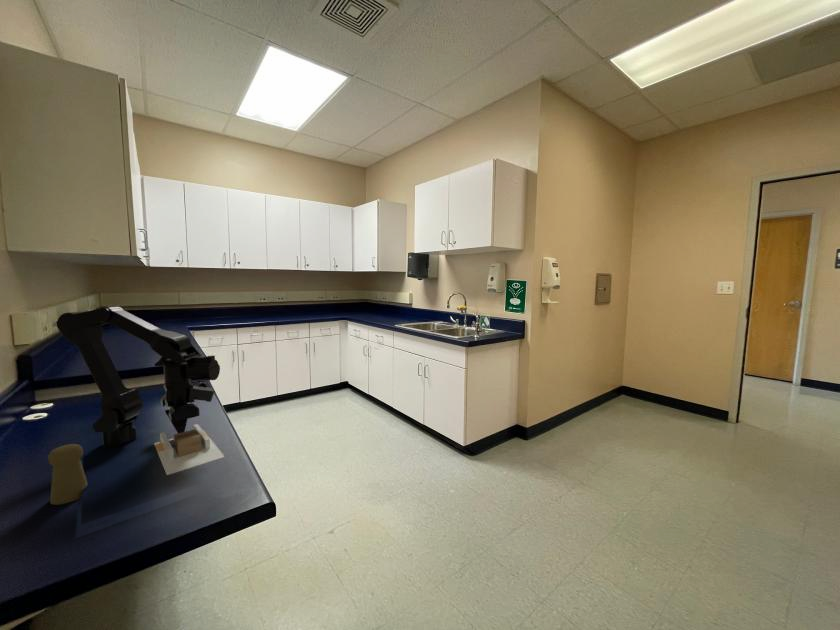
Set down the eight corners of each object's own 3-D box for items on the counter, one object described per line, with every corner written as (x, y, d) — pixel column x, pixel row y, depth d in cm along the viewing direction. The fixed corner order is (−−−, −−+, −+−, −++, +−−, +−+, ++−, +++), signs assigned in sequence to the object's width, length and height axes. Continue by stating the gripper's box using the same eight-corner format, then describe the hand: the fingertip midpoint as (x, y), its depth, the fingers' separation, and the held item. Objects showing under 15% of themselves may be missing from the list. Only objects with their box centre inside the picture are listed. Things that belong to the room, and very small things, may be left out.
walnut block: (174, 449, 92) (173, 434, 92) (196, 443, 95) (195, 429, 95) (178, 457, 88) (177, 442, 87) (201, 450, 91) (200, 435, 91)
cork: (54, 508, 70) (48, 456, 69) (46, 498, 74) (40, 449, 72) (93, 492, 75) (89, 444, 74) (84, 484, 79) (79, 438, 78)
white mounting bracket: (154, 448, 96) (153, 434, 95) (204, 435, 104) (203, 422, 103) (167, 481, 80) (166, 464, 79) (225, 462, 88) (224, 447, 88)
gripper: (219, 381, 95) (222, 436, 96) (203, 369, 108) (206, 417, 109) (169, 390, 87) (174, 450, 88) (158, 376, 100) (162, 428, 102)
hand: (181, 434), depth 97 cm, fingers closed
